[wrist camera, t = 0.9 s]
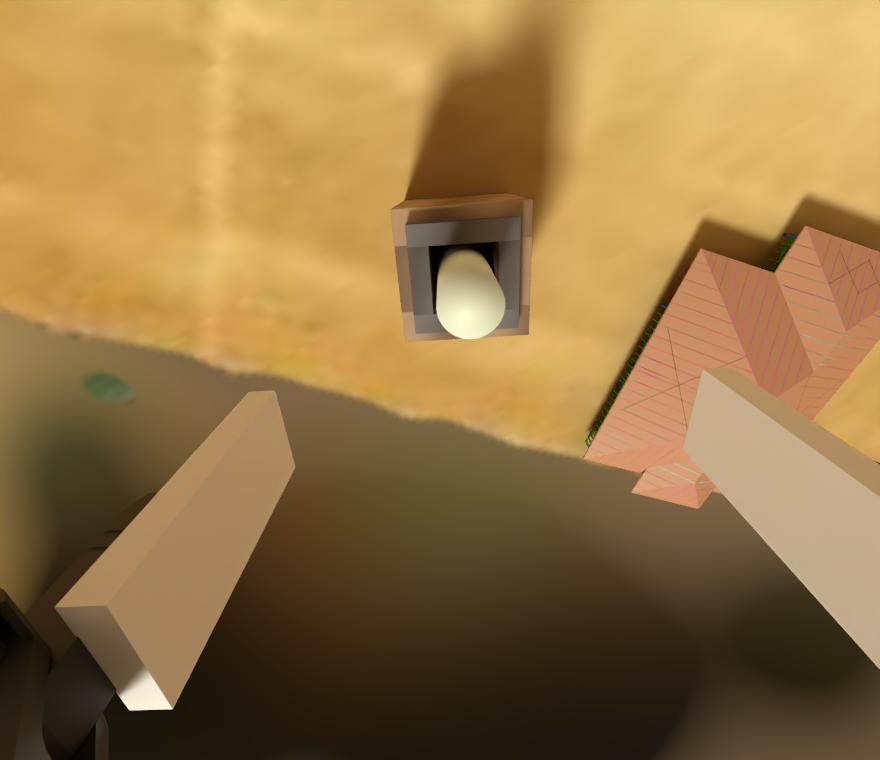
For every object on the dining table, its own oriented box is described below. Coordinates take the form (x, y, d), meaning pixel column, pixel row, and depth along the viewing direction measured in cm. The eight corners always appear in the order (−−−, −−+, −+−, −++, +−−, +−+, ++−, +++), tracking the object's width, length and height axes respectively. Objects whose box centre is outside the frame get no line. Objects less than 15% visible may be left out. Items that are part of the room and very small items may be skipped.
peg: (485, 239, 33) (505, 269, 23) (486, 287, 35) (505, 337, 24) (436, 242, 34) (433, 274, 23) (439, 290, 35) (438, 341, 25)
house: (566, 459, 54) (585, 503, 47) (707, 196, 40) (767, 201, 32) (718, 497, 57) (759, 544, 49) (901, 264, 42) (997, 283, 35)
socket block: (508, 192, 39) (536, 200, 27) (507, 295, 44) (531, 339, 32) (404, 200, 39) (388, 210, 28) (414, 301, 44) (404, 346, 32)
